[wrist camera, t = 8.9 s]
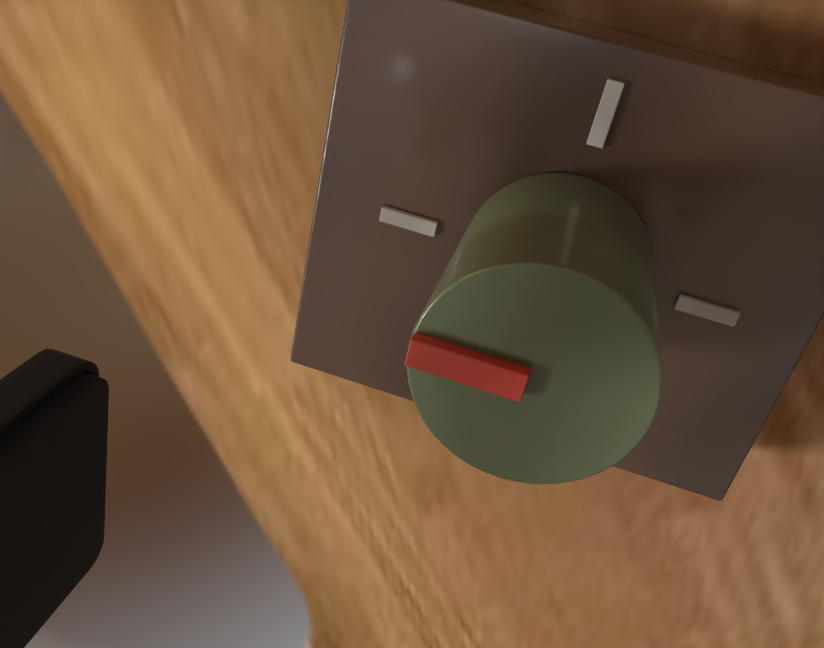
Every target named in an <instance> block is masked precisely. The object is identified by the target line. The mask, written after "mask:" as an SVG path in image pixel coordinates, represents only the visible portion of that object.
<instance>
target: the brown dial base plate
mask: <svg viewBox="0 0 824 648" xmlns="http://www.w3.org/2000/svg"><path fill="white" fill-rule="evenodd" d="M544 173H565V174H573V175H578V176H583V177H586V178H589V179H592V180H595V181H597V182H599V183H601V184H603V185H605V186H607V187H609V188H610V189H612V190H613V191H615V192H616V193H617V194H619V195H620V196H621V197H622V198H623V199H624V200H625V201H627V202H628V203H629V204H630V206H631V207H632V208H633V209H634V210H635V212H636V213H637V214H638V216H639V218H640V219H641V221H642V223H643V224H644V227H645V229H646V231H647V234H648V236H649V240H650V244H651V249H652V257H653V268H654V279H655V290H656V301H657V312H658V323H659V334H660V346H661V357H662V368H663V392H662V397H661V402H660V407H659V409H658V412H657V415H656V417H655V420H654V422H653V423H652V425H651V427H650V429H649V431H648V432H647V434H646V435H645V436H644V438H643V439H642V440H641V442H640V443H639V444H638V445H637V446H636V447H635V448H634V449H633V450H632V451H631V452H630V453H629V454H628V455H627V456H625V457H624V458H623V459H621V460H620V461H619V462H617V463H616V464H614V465H613V466H615V467H618V468H621V469H624V470H627V471H630V472H633V473H636V474H639V475H642V476H646V477H649V478H652V479H655V480H658V481H661V482H664V483H667V484H670V485H673V486H676V487H679V488H682V489H685V490H689V491H692V492H695V493H698V494H701V495H704V496H707V497H710V498H713V499H716V500H719V501H721V500H722V499H723V497H724V496H725V494H726V492H727V490H728V488H729V487H730V485H731V483H732V481H733V479H734V477H735V476H736V474H737V472H738V470H739V468H740V466H741V465H742V463H743V461H744V459H745V457H746V456H747V454H748V452H749V450H750V448H751V446H752V445H753V443H754V441H755V439H756V437H757V435H758V434H759V432H760V430H761V428H762V426H763V425H764V423H765V421H766V419H767V417H768V415H769V414H770V412H771V410H772V408H773V406H774V405H775V403H776V401H777V399H778V397H779V395H780V394H781V392H782V390H783V388H784V386H785V384H786V383H787V381H788V379H789V377H790V375H791V374H792V372H793V370H794V368H795V366H796V364H797V363H798V361H799V359H800V357H801V355H802V353H803V352H804V350H805V348H806V346H807V344H808V343H809V341H810V339H811V337H812V335H813V333H814V332H815V330H816V328H817V326H818V324H819V322H820V321H821V319H822V317H823V315H824V84H823V83H819V82H815V81H811V80H807V79H804V78H800V77H796V76H792V75H788V74H784V73H780V72H777V71H773V70H769V69H765V68H761V67H757V66H754V65H750V64H746V63H742V62H738V61H734V60H730V59H727V58H723V57H719V56H715V55H711V54H707V53H704V52H700V51H696V50H692V49H688V48H684V47H680V46H677V45H673V44H669V43H665V42H661V41H657V40H654V39H650V38H646V37H642V36H638V35H634V34H630V33H627V32H623V31H619V30H615V29H611V28H607V27H604V26H600V25H596V24H592V23H588V22H584V21H581V20H577V19H573V18H569V17H565V16H561V15H557V14H554V13H550V12H546V11H542V10H538V9H534V8H531V7H527V6H523V5H519V4H515V3H511V2H507V1H504V0H348V2H347V8H346V15H345V21H344V27H343V33H342V40H341V46H340V52H339V59H338V65H337V71H336V77H335V84H334V90H333V96H332V102H331V109H330V115H329V121H328V127H327V134H326V140H325V146H324V152H323V159H322V165H321V171H320V177H319V184H318V190H317V196H316V202H315V209H314V215H313V221H312V227H311V234H310V240H309V246H308V253H307V259H306V265H305V271H304V278H303V284H302V290H301V296H300V303H299V309H298V315H297V321H296V328H295V334H294V340H293V346H292V353H291V361H292V362H295V363H298V364H301V365H304V366H307V367H310V368H313V369H317V370H320V371H323V372H326V373H329V374H332V375H335V376H338V377H341V378H344V379H347V380H350V381H353V382H357V383H360V384H363V385H366V386H369V387H372V388H375V389H378V390H381V391H384V392H387V393H390V394H393V395H396V396H400V397H403V398H406V399H409V400H412V401H414V400H413V398H412V394H411V391H410V387H409V383H408V375H407V366H405V364H404V362H405V358H406V354H407V350H408V346H409V342H410V339H411V336H412V333H413V330H414V327H415V325H416V323H417V321H418V319H419V317H420V315H421V314H422V312H423V310H424V308H425V306H426V304H427V302H428V301H429V299H430V297H431V295H432V293H433V291H434V289H435V288H436V286H437V284H438V282H439V280H440V278H441V276H442V275H443V273H444V271H445V269H446V267H447V265H448V263H449V262H450V260H451V258H452V256H453V254H454V252H455V250H456V248H457V247H458V245H459V243H460V241H461V239H462V237H463V235H464V234H465V232H466V230H467V228H468V226H469V224H470V222H471V221H472V219H473V217H474V216H475V214H476V213H477V211H478V210H479V208H480V207H481V206H482V205H483V204H484V203H485V202H486V201H487V200H488V199H489V198H490V197H491V196H492V195H494V194H495V193H496V192H497V191H499V190H500V189H502V188H503V187H505V186H507V185H508V184H511V183H513V182H515V181H517V180H519V179H523V178H526V177H529V176H533V175H539V174H544Z"/></svg>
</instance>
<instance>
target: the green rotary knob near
mask: <svg viewBox="0 0 824 648" xmlns="http://www.w3.org/2000/svg"><path fill="white" fill-rule="evenodd" d="M404 364H405V366H407V375H408V383H409V387H410V391H411V394H412V398H413V400H414V403H415V405H416V407H417V410H418V412H419V414H420V415H421V417H422V419H423V421H424V422H425V424H426V425H427V427H428V428H429V429H430V431H431V432H432V433H433V434H434V436H435V437H436V438H437V439H438V440H439V441H440V442H441V443H442V444H443V445H444V446H445V447H446V448H447V449H449V450H450V451H451V452H452V453H453V454H455V455H456V456H457V457H459V458H460V459H462V460H463V461H465V462H467V463H468V464H470V465H472V466H474V467H476V468H478V469H480V470H481V471H484V472H486V473H489V474H492V475H494V476H497V477H500V478H504V479H508V480H511V481H517V482H523V483H533V484H556V483H564V482H570V481H575V480H579V479H583V478H586V477H589V476H592V475H594V474H597V473H599V472H602V471H604V470H605V469H607V468H609V467H611V466H613V465H614V464H616V463H617V462H619V461H620V460H621V459H623V458H624V457H625V456H627V455H628V454H629V453H630V452H631V451H632V450H633V449H634V448H635V447H636V446H637V445H638V444H639V443H640V442H641V440H642V439H643V438H644V436H645V435H646V434H647V432H648V431H649V429H650V427H651V425H652V423H653V422H654V420H655V417H656V415H657V412H658V409H659V407H660V402H661V397H662V392H663V368H662V357H661V346H660V334H659V323H658V312H657V301H656V290H655V279H654V268H653V257H652V249H651V244H650V240H649V236H648V234H647V231H646V229H645V227H644V224H643V223H642V221H641V219H640V218H639V216H638V214H637V213H636V212H635V210H634V209H633V208H632V207H631V206H630V204H629V203H628V202H627V201H625V200H624V199H623V198H622V197H621V196H620V195H619V194H617V193H616V192H615V191H613V190H612V189H610V188H609V187H607V186H605V185H603V184H601V183H599V182H597V181H595V180H592V179H589V178H586V177H583V176H578V175H573V174H565V173H544V174H539V175H533V176H529V177H526V178H523V179H519V180H517V181H515V182H513V183H511V184H508V185H507V186H505V187H503V188H502V189H500V190H499V191H497V192H496V193H495V194H494V195H492V196H491V197H490V198H489V199H488V200H487V201H486V202H485V203H484V204H483V205H482V206H481V207H480V208H479V210H478V211H477V213H476V214H475V216H474V217H473V219H472V221H471V222H470V224H469V226H468V228H467V230H466V232H465V234H464V235H463V237H462V239H461V241H460V243H459V245H458V247H457V248H456V250H455V252H454V254H453V256H452V258H451V260H450V262H449V263H448V265H447V267H446V269H445V271H444V273H443V275H442V276H441V278H440V280H439V282H438V284H437V286H436V288H435V289H434V291H433V293H432V295H431V297H430V299H429V301H428V302H427V304H426V306H425V308H424V310H423V312H422V314H421V315H420V317H419V319H418V321H417V323H416V325H415V327H414V330H413V333H412V336H411V339H410V342H409V346H408V350H407V354H406V358H405V362H404Z"/></svg>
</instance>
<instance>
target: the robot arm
mask: <svg viewBox="0 0 824 648" xmlns="http://www.w3.org/2000/svg"><path fill="white" fill-rule="evenodd" d="M108 397H109V389H108V383H107V381H106V380H105V379H103V378H100V377H99V370H98V368H97V366H96V364H94V363H92V362H90V361H87V360H84V359H81V358H78V357H75V356H72V355H69V354H66V353H63V352H60V351H57V350H54V349H45V350H43V351H41V352H39V353H37V354H36V355H34V356H33V357H31V358H30V359H29V360H27V361H26V362H24V363H23V364H22V365H20V366H19V367H17V368H16V369H15V370H13V371H12V372H11V373H9V374H8V375H6V376H5V377H3V378H2V379H1V380H0V648H24V647H25V646H26V645H27V644H28V642H29V641H30V640H31V639H32V637H33V636H34V635H35V634H36V633H37V632H38V630H39V629H40V628H41V627H42V626H43V624H44V623H45V622H46V621H47V620H48V618H49V617H50V616H51V615H52V614H53V612H54V611H55V610H56V609H57V608H58V606H59V605H60V604H61V603H62V602H63V601H64V599H65V598H66V597H67V596H68V594H69V593H70V592H71V591H72V590H73V588H74V587H75V586H76V585H77V584H78V583H79V582H80V580H81V579H82V578H83V577H84V576H85V574H86V573H87V572H88V571H89V570H90V568H91V567H92V566H93V564H94V563H95V561H96V559H97V557H98V555H99V553H100V551H101V548H102V545H103V540H104V522H105V491H106V490H105V489H106V459H107V427H108Z"/></svg>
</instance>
